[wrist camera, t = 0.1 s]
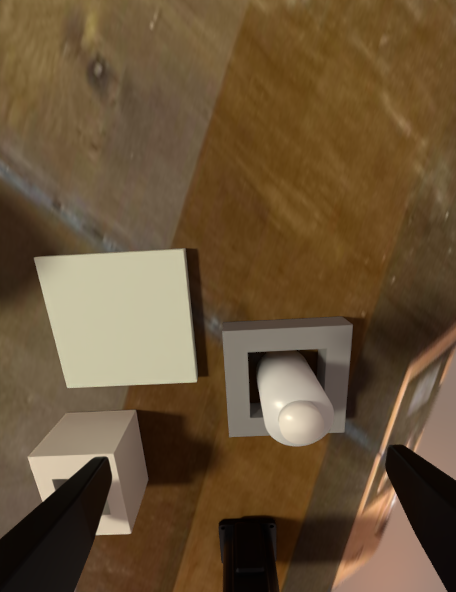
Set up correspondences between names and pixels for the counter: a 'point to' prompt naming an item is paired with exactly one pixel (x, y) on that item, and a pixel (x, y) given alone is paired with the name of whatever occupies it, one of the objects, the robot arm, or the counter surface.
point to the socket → (280, 337)
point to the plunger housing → (86, 445)
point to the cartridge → (292, 399)
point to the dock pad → (121, 317)
